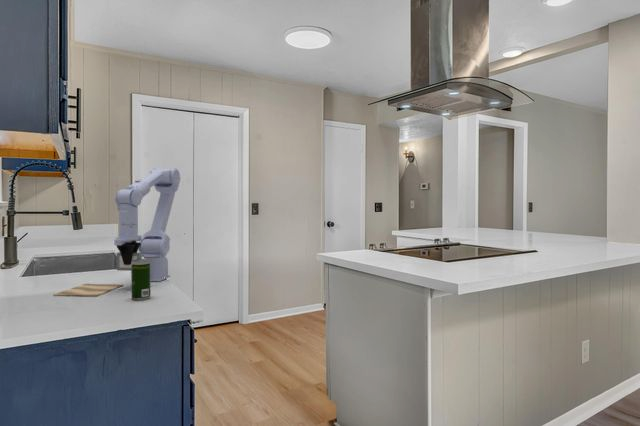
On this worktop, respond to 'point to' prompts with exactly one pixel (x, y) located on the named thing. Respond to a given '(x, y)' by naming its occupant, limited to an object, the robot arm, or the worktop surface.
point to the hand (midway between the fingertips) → (129, 264)
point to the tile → (121, 265)
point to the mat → (89, 290)
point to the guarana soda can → (140, 279)
